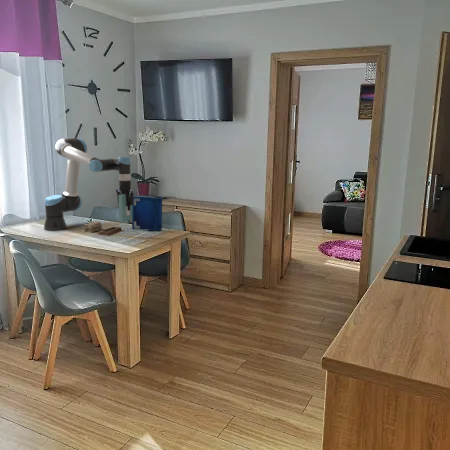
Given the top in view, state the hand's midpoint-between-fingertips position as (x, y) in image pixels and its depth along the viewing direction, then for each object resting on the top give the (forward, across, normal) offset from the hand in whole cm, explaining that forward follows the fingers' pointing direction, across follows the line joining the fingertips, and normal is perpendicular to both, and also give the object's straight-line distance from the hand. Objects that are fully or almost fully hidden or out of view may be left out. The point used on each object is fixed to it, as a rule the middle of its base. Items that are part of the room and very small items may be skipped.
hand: (125, 214), depth 299 cm
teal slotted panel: (+4, 0, 0) cm, 4 cm away
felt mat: (+15, 0, 0) cm, 15 cm away
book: (+15, +4, +22) cm, 26 cm away
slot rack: (+15, -13, 0) cm, 19 cm away
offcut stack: (+15, -27, 0) cm, 31 cm away
